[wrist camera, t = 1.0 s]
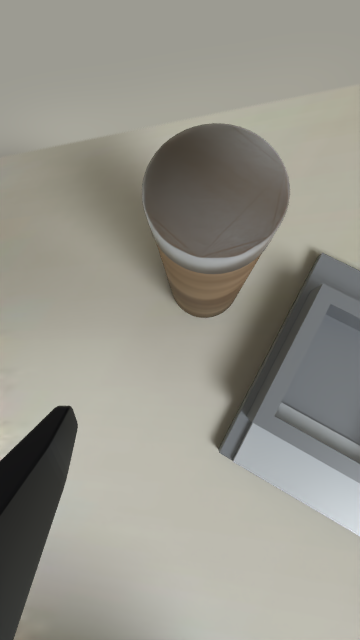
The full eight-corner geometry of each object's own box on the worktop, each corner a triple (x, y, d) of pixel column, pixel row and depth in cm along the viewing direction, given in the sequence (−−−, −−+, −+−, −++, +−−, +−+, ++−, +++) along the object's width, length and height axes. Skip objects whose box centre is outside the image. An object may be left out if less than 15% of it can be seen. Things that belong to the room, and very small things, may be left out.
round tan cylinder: (218, 330, 23) (246, 286, 10) (159, 298, 24) (115, 218, 11) (250, 271, 24) (315, 160, 11) (191, 242, 24) (186, 101, 11)
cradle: (365, 535, 21) (394, 564, 18) (218, 449, 22) (221, 462, 19) (460, 325, 22) (500, 319, 19) (318, 256, 23) (335, 240, 20)
